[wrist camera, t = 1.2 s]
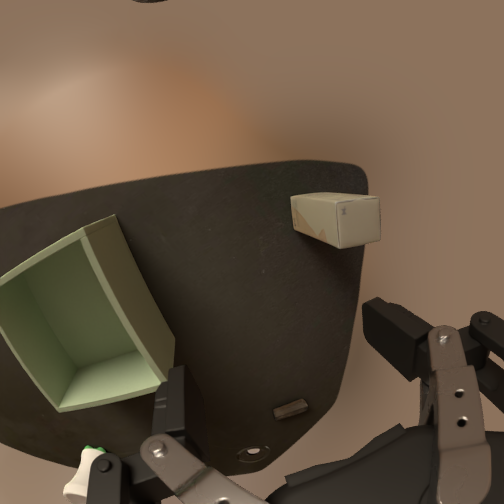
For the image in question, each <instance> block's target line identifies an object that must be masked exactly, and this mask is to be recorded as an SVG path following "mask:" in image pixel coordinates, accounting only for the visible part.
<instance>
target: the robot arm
mask: <svg viewBox="0 0 504 504" xmlns="http://www.w3.org/2000/svg"><path fill="white" fill-rule="evenodd" d="M362 315H363V316H362V317H363V332H364V336H365V338H366V340H367V342H368V343H369V344H370V345H371V346H372V347H373V348H375V350H377V351H378V352H379V353H380V354H381V355H382V356H383V357H384V358H385V359H386V360H387V361H388V362H389V363H390V364H391V365H392V366H393V367H394V368H395V369H397V370H398V371H399V372H400V373H401V374H402V375H403V376H404V377H405V378H406V379H407V380H408V381H409V382H411V381H412V380H414V379H415V378H417V377H419V378H421V381H420V419H419V425H418V426H413V427H409V428H406V429H404V428H403V427H402V425H401V424H400V423H399V424H397V425H396V426H394V427H393V428H391V429H389V430H388V431H386V432H384V433H382V434H380V435H379V436H377V437H375V438H374V439H373V440H371V441H370V442H369V443H368V444H367V445H365V447H363V448H362V449H361V450H359V451H358V452H357V453H356V454H354V455H353V456H352V457H350V458H348V459H344V460H340V461H335V462H330V463H326V464H320V465H315V466H312V467H310V468H307V469H304V470H302V471H299V472H296V473H293V474H290V475H287V476H285V479H286V482H287V483H286V484H284V485H283V486H281V487H279V488H278V489H277V490H275V491H274V492H273V493H272V494H270V495H269V496H268V497H267V498H266V499H265V500H262V499H260V498H259V497H257V496H255V495H254V494H252V493H250V492H249V491H247V490H246V489H244V488H242V487H241V486H239V485H238V484H236V483H234V482H233V481H232V480H230V479H229V478H227V477H226V476H224V475H223V474H221V473H220V472H219V471H217V470H216V469H214V468H213V467H211V466H209V467H208V466H207V465H205V464H204V463H203V462H208V461H210V453H209V446H208V437H207V429H206V420H205V410H204V401H203V397H202V394H201V391H200V389H199V387H198V385H197V383H196V382H195V380H194V378H193V376H192V374H191V372H190V370H189V368H188V366H187V365H182V366H178V367H174V368H170V369H169V371H168V381H165V382H161V384H160V385H159V387H158V389H157V390H156V394H155V403H154V412H153V422H152V433H151V437H149V438H148V439H146V440H145V441H144V442H143V444H142V446H141V448H140V452H138V453H136V454H133V455H131V456H128V457H125V458H122V459H120V458H119V457H118V456H117V455H115V454H113V453H103V454H101V455H99V456H97V457H96V458H95V459H94V460H93V462H92V464H91V467H90V473H89V481H88V489H87V499H86V504H161V500H162V499H165V498H168V497H170V496H173V495H175V496H176V497H177V498H178V499H179V500H180V501H181V502H182V503H183V504H504V432H494V431H485V429H484V419H483V411H482V405H481V398H480V393H479V391H480V392H481V393H482V394H484V395H485V396H486V397H487V398H488V399H489V400H490V401H491V402H492V403H493V404H494V405H495V406H496V407H497V408H498V409H499V410H501V411H502V412H503V413H504V369H502V368H501V367H500V366H499V365H497V364H496V363H495V362H493V361H492V360H491V359H490V358H488V356H489V354H490V351H492V352H493V353H495V354H496V355H497V356H499V357H500V358H501V359H502V360H503V361H504V320H502V319H501V318H499V317H498V316H496V315H494V314H492V313H490V312H487V311H480V312H477V313H475V314H473V315H472V317H471V321H470V325H469V326H467V327H464V328H461V329H459V330H456V329H455V328H453V327H450V326H445V325H443V326H437V327H433V326H432V325H430V324H429V323H427V322H425V321H424V320H423V319H421V318H419V317H418V316H416V315H414V314H413V313H412V312H410V311H408V310H407V309H405V308H404V307H402V306H401V305H398V304H394V303H387V302H385V301H384V300H382V299H381V298H379V297H376V298H374V299H372V300H369V301H367V302H365V303H364V304H363V305H362Z"/></svg>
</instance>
